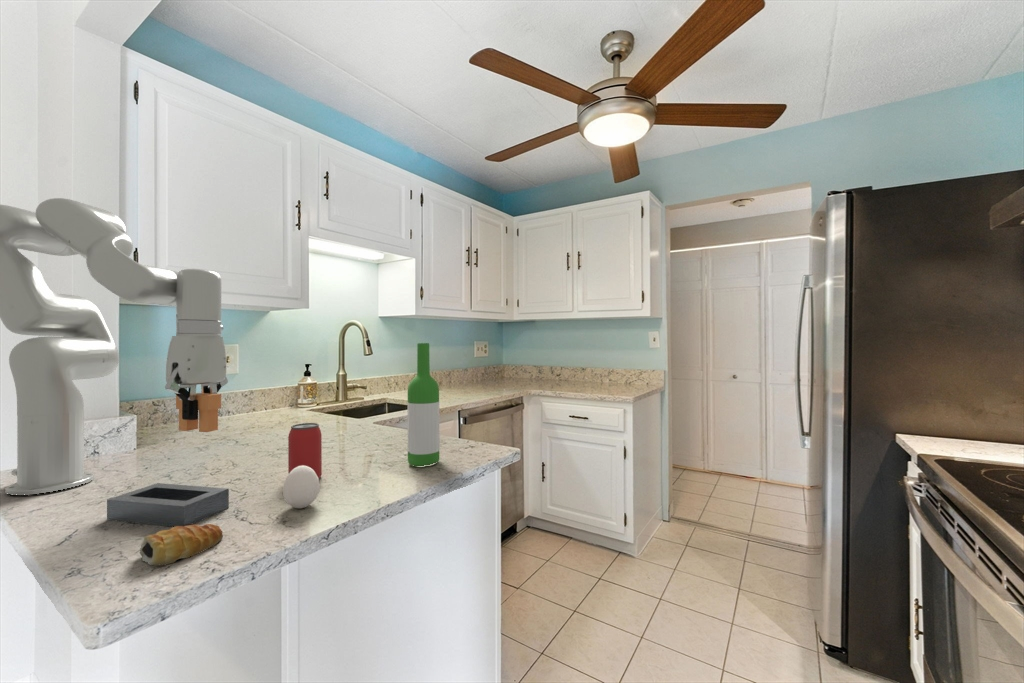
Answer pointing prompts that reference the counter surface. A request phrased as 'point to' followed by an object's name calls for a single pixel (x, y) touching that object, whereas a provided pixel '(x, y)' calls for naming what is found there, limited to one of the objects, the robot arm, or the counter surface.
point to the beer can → (305, 447)
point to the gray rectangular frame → (168, 504)
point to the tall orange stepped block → (202, 413)
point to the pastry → (178, 543)
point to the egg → (301, 487)
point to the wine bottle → (423, 413)
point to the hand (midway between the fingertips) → (198, 417)
